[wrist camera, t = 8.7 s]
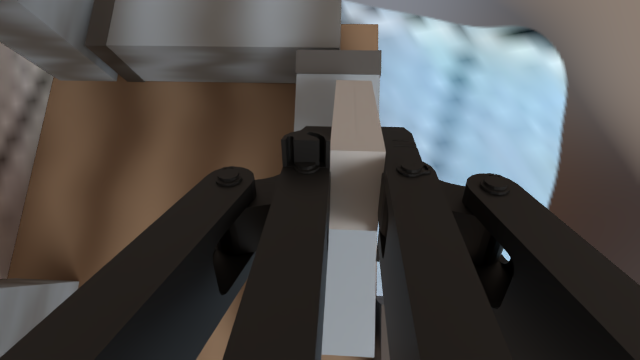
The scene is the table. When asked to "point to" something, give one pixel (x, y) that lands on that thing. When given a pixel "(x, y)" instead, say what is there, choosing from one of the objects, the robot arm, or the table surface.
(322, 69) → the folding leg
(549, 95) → the table surface
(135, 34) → the grey block structure
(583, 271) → the robot arm
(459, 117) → the table surface
